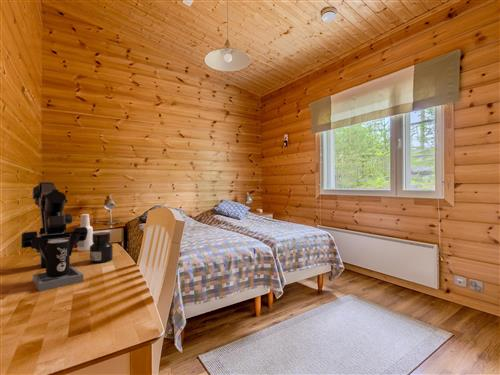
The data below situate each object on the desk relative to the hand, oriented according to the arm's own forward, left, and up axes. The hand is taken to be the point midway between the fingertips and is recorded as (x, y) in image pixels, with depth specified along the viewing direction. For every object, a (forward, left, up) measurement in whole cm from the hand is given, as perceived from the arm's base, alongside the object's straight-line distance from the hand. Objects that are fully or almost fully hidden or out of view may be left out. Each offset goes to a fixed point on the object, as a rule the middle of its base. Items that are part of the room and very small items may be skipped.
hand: (58, 256), depth 90 cm
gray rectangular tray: (-1, 0, -9) cm, 9 cm away
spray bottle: (-43, +20, -9) cm, 48 cm away
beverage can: (-1, 0, -7) cm, 7 cm away
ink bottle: (-17, +19, -9) cm, 27 cm away
